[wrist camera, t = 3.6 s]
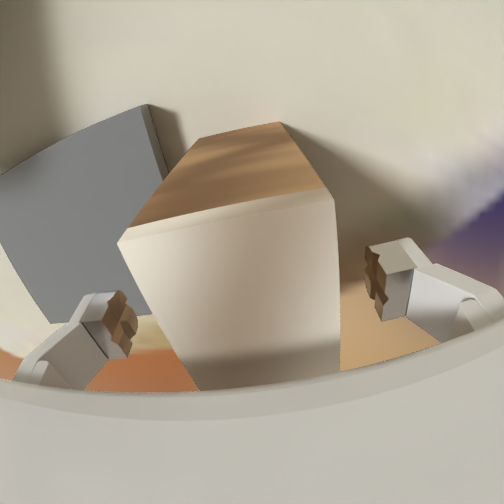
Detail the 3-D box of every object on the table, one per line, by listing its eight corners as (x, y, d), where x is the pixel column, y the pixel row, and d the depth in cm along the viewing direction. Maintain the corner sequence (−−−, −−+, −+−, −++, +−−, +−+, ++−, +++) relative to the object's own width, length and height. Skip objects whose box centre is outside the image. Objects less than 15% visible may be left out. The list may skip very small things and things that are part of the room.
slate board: (147, 103, 12) (139, 106, 11) (211, 294, 19) (209, 306, 18) (-13, 185, 14) (-23, 192, 13) (56, 313, 20) (50, 323, 19)
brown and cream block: (279, 121, 13) (333, 199, 5) (300, 243, 17) (338, 402, 8) (198, 138, 14) (116, 243, 5) (231, 256, 17) (219, 417, 9)
